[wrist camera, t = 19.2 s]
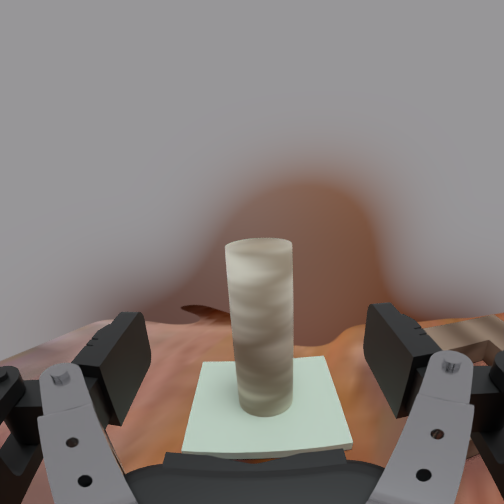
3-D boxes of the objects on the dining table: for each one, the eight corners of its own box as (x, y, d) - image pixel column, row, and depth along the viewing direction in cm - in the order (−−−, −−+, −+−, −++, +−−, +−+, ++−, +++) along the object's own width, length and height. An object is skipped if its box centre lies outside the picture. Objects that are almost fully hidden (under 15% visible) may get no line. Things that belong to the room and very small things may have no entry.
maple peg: (238, 418, 22) (221, 255, 19) (240, 384, 26) (227, 239, 23) (295, 415, 22) (295, 251, 19) (290, 382, 26) (288, 236, 23)
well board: (443, 467, 15) (455, 445, 14) (378, 355, 30) (381, 334, 29) (568, 402, 14) (578, 381, 14) (489, 332, 30) (493, 314, 29)
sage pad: (183, 457, 19) (181, 450, 19) (204, 368, 30) (203, 361, 30) (351, 449, 19) (353, 442, 18) (323, 362, 30) (323, 355, 30)
